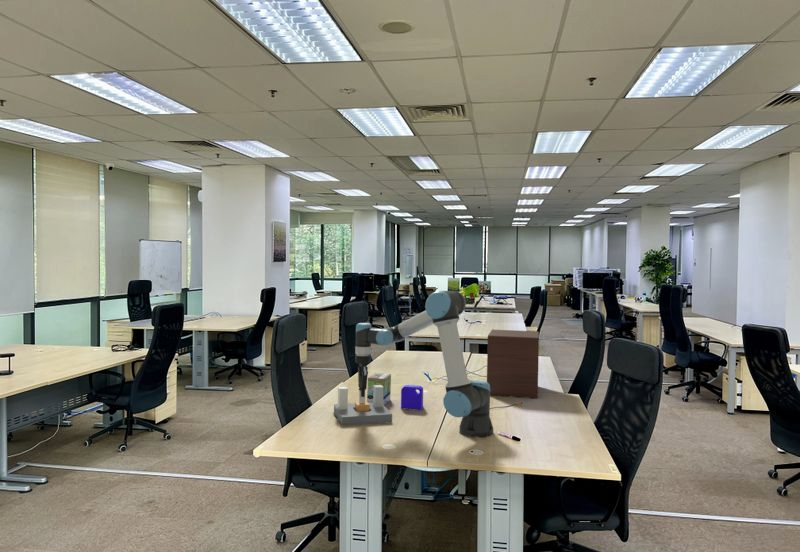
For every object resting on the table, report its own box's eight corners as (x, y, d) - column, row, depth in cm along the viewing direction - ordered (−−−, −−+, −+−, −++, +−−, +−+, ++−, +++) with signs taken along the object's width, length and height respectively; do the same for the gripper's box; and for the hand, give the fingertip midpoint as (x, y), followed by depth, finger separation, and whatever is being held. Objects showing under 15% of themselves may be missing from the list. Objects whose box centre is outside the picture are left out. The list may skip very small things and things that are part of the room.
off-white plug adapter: (347, 409, 259) (347, 388, 259) (339, 409, 258) (339, 389, 258) (345, 406, 264) (346, 386, 264) (337, 406, 263) (338, 386, 262)
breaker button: (369, 414, 257) (369, 404, 257) (357, 415, 256) (357, 405, 256) (366, 411, 263) (366, 401, 263) (354, 412, 261) (355, 402, 261)
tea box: (384, 406, 281) (385, 378, 281) (366, 405, 283) (366, 377, 283) (390, 399, 296) (391, 373, 296) (373, 398, 298) (373, 372, 298)
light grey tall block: (383, 407, 264) (383, 387, 264) (375, 407, 263) (375, 387, 263) (380, 404, 269) (381, 384, 268) (373, 405, 267) (373, 385, 267)
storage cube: (537, 399, 303) (538, 337, 303) (486, 395, 310) (487, 335, 310) (537, 386, 337) (538, 331, 337) (491, 383, 344) (492, 329, 344)
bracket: (421, 410, 274) (421, 387, 274) (400, 408, 277) (401, 386, 277) (427, 402, 292) (427, 380, 292) (407, 400, 294) (408, 379, 294)
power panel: (392, 422, 251) (392, 414, 251) (341, 425, 245) (341, 417, 244) (380, 409, 274) (380, 401, 274) (333, 412, 268) (334, 404, 268)
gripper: (373, 356, 254) (372, 405, 254) (367, 352, 266) (366, 399, 267) (358, 357, 252) (357, 406, 252) (353, 352, 264) (352, 400, 265)
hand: (362, 402), depth 259 cm, fingers closed
